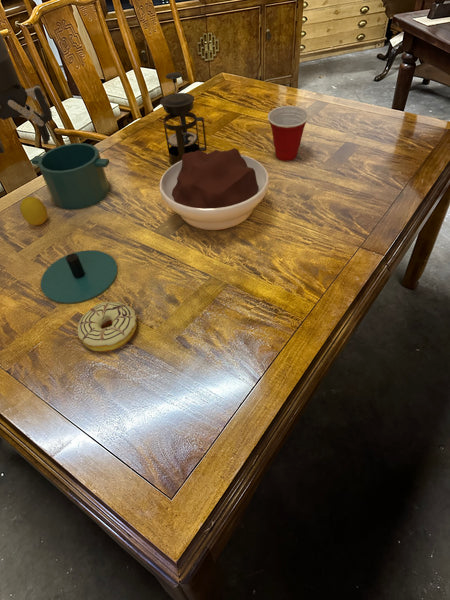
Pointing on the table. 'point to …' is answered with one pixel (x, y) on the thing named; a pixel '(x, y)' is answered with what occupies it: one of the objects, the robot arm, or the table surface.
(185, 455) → the table surface
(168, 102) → the french press
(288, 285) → the table surface
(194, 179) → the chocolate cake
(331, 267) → the table surface
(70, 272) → the lid
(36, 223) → the lemon
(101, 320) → the decorated donut
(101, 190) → the pot
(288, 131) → the plastic cup
